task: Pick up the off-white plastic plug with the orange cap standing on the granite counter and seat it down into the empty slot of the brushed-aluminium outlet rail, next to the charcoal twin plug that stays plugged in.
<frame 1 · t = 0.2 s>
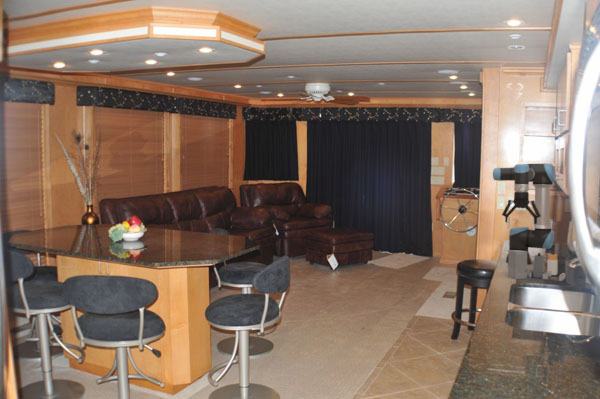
hand: (520, 229, 301), 28 cm above the kitchen counter, fingers open, 13 cm apart
skincare box: (517, 278, 300), on the kitchen counter
twin plug: (538, 276, 300), point 1 cm above the kitchen counter, touching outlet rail
plug: (552, 274, 309), on the kitchen counter
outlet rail: (546, 278, 298), on the kitchen counter
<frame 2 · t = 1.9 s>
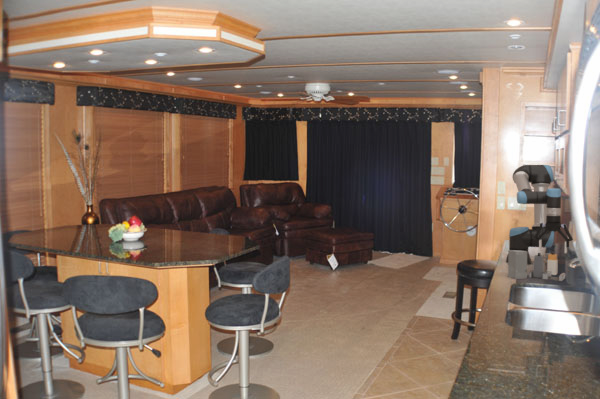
hand: (552, 251, 308), 13 cm above the kitchen counter, fingers open, 13 cm apart
nothing on the kitchen counter moved.
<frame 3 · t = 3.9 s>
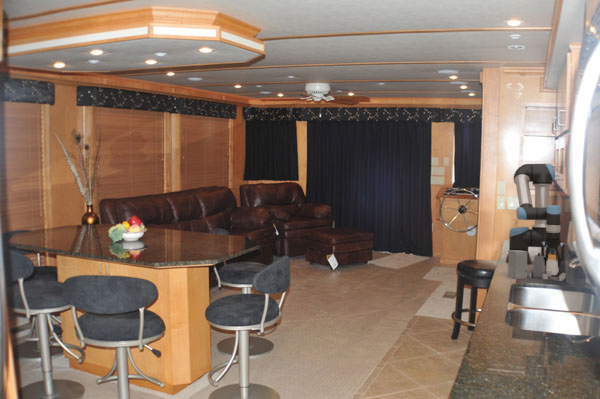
hand: (552, 272, 309), 2 cm above the kitchen counter, fingers closed on plug, 4 cm apart
plug: (552, 274, 309), on the kitchen counter, touching gripper
everything else where it was.
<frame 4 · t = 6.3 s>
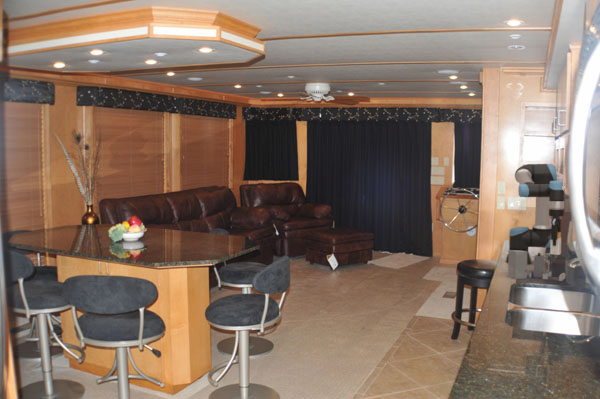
hand: (555, 250, 294), 16 cm above the kitchen counter, fingers closed on plug, 4 cm apart
plug: (555, 253, 294), point 14 cm above the kitchen counter, touching gripper
everything else where it was.
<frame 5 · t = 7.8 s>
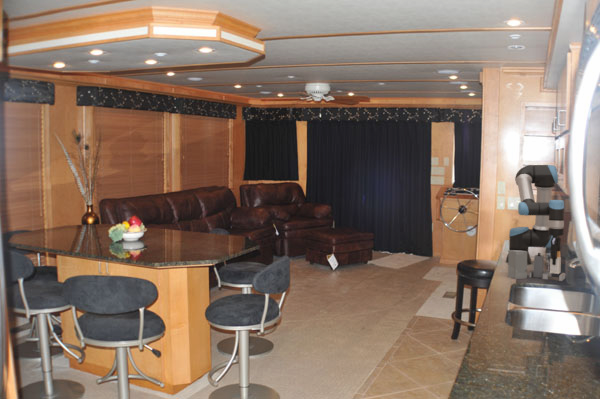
hand: (555, 269, 295), 6 cm above the kitchen counter, fingers closed on plug, 4 cm apart
plug: (555, 272, 295), point 4 cm above the kitchen counter, touching gripper
everything else where it was.
when the fingers open (3 cm above the kitchen counter, at t = 8.9 s): plug stays where it is, resting on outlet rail.
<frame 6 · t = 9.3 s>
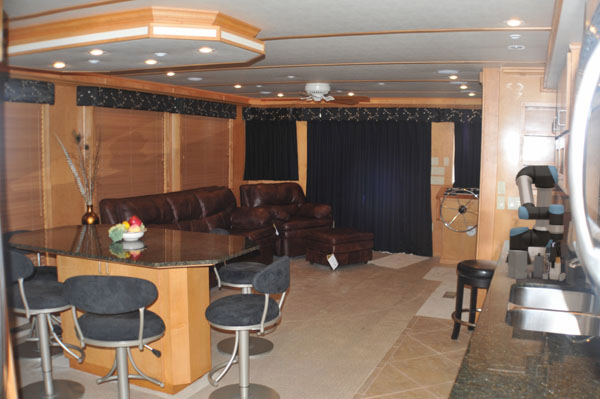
hand: (555, 272, 295), 4 cm above the kitchen counter, fingers open, 10 cm apart
plug: (555, 278, 295), point 1 cm above the kitchen counter, touching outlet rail
everything else where it was.
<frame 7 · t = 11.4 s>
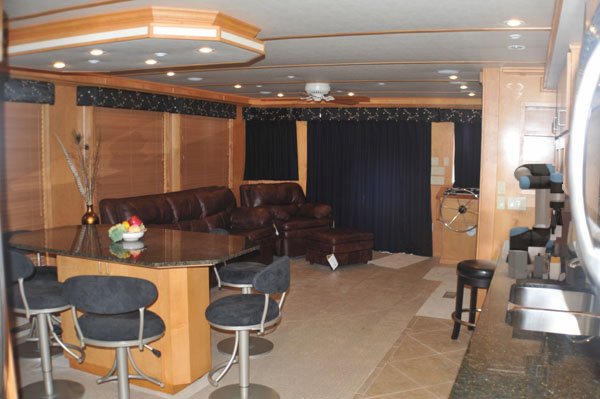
hand: (556, 238, 299), 22 cm above the kitchen counter, fingers open, 13 cm apart
nothing on the kitchen counter moved.
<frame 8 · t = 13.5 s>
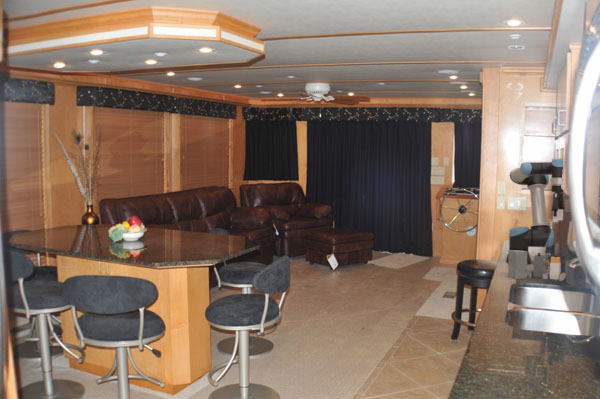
hand: (557, 221, 312), 31 cm above the kitchen counter, fingers open, 13 cm apart
nothing on the kitchen counter moved.
at the end: plug 0.0 cm from the target spot on the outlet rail, point 0.6 cm above the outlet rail's base; plug tilted 0°; the gripper is holding nothing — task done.
